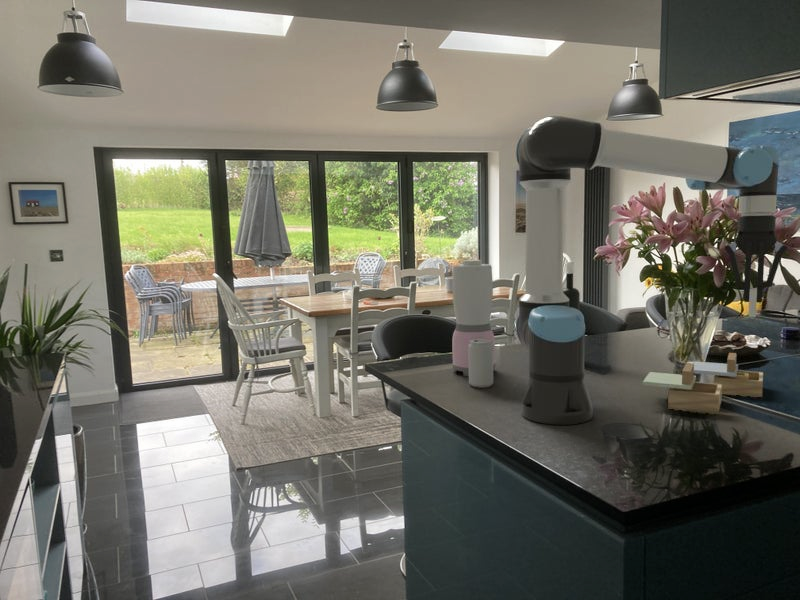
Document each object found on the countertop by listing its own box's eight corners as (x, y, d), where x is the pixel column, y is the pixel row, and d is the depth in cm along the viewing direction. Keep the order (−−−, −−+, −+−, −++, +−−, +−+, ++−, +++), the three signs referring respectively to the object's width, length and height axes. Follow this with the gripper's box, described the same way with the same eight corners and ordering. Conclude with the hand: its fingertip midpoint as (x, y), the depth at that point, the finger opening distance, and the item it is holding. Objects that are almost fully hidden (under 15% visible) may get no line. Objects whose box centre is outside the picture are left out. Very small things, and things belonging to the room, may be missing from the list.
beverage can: (474, 381, 170) (474, 337, 168) (497, 383, 167) (496, 339, 165) (464, 386, 164) (464, 341, 163) (487, 389, 161) (487, 343, 160)
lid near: (691, 389, 137) (691, 372, 137) (642, 384, 142) (643, 368, 142) (695, 379, 146) (696, 363, 145) (649, 375, 151) (650, 359, 150)
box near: (718, 414, 135) (719, 394, 134) (668, 409, 140) (668, 390, 139) (721, 403, 144) (721, 384, 143) (673, 398, 149) (674, 379, 148)
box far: (762, 400, 145) (762, 381, 144) (713, 395, 150) (714, 377, 149) (762, 389, 153) (763, 372, 153) (716, 385, 158) (717, 368, 158)
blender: (500, 375, 176) (499, 260, 172) (458, 377, 174) (456, 262, 171) (485, 363, 192) (483, 258, 188) (446, 365, 190) (443, 259, 186)
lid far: (736, 376, 147) (736, 360, 146) (689, 372, 152) (689, 357, 151) (737, 367, 155) (738, 352, 155) (693, 364, 160) (693, 349, 160)
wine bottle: (576, 363, 188) (576, 262, 184) (557, 361, 191) (557, 262, 187) (581, 359, 193) (582, 261, 189) (563, 357, 196) (563, 261, 192)
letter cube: (747, 393, 149) (748, 376, 148) (728, 391, 151) (729, 374, 150) (748, 389, 152) (748, 372, 152) (729, 387, 154) (729, 371, 154)
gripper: (789, 214, 145) (784, 315, 148) (726, 215, 152) (722, 312, 154) (790, 214, 139) (785, 320, 142) (724, 215, 145) (720, 316, 148)
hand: (752, 316), depth 148 cm, fingers closed
